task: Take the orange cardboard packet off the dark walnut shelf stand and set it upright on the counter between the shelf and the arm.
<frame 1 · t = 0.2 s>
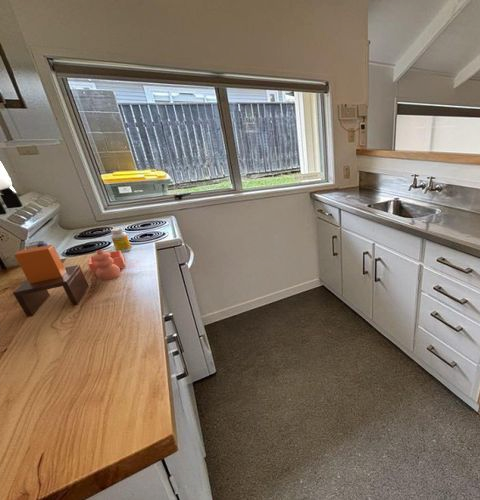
hand: (7, 211, 79), 27 cm above the counter, tool pointing down, fingers open, 9 cm apart
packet: (48, 277, 83), point 8 cm above the counter, touching shelf
shelf: (60, 300, 86), on the counter
supplement bottle: (124, 250, 123), on the counter
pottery: (109, 271, 104), on the counter
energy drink: (50, 273, 105), on the counter
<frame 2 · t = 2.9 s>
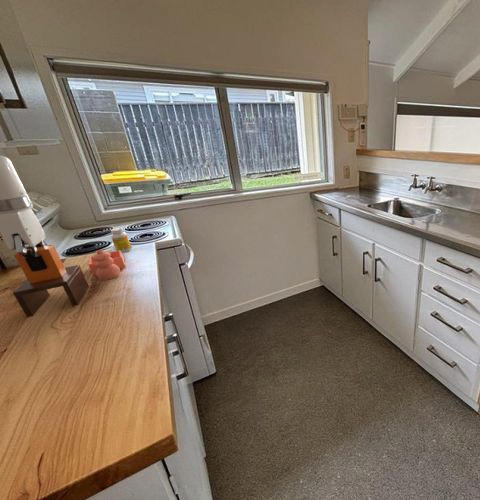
hand: (43, 266, 82), 12 cm above the counter, tool pointing down, fingers closed on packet, 4 cm apart
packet: (48, 277, 83), point 8 cm above the counter, touching gripper, shelf
everything else where it was.
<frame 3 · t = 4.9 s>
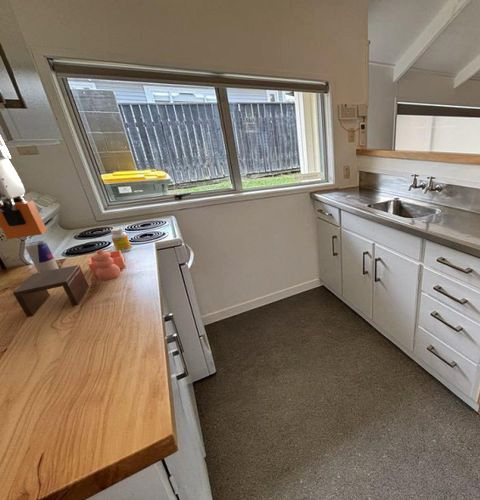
hand: (21, 222, 79), 24 cm above the counter, tool pointing down, fingers closed on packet, 4 cm apart
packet: (28, 234, 80), point 21 cm above the counter, touching gripper
everything else where it was.
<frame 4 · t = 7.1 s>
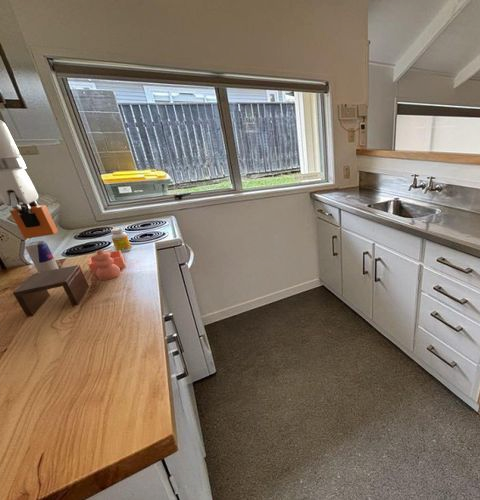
hand: (36, 223, 90), 21 cm above the counter, tool pointing down, fingers closed on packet, 4 cm apart
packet: (42, 234, 91), point 17 cm above the counter, touching gripper
everything else where it was.
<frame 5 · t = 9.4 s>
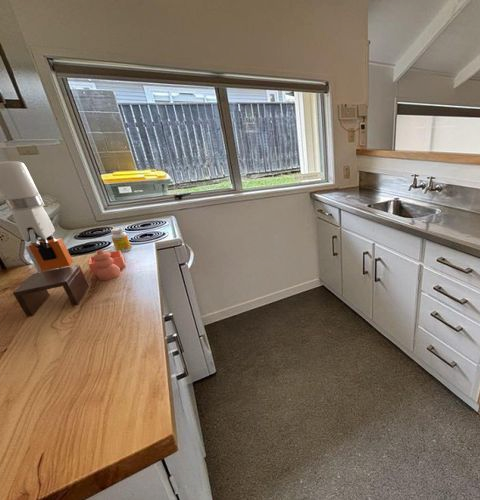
hand: (52, 256, 94), 10 cm above the counter, tool pointing down, fingers closed on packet, 4 cm apart
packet: (58, 266, 96), point 6 cm above the counter, touching gripper
everything else where it was.
when the fingers open (4 cm above the counter, at t = 11.2 s): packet stays where it is, on the counter.
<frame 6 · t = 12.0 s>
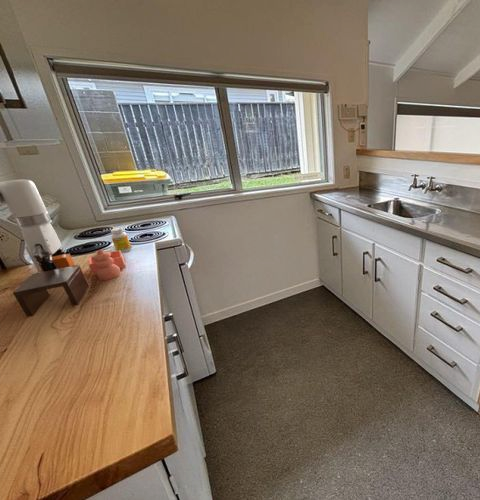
hand: (57, 268, 96), 5 cm above the counter, tool pointing down, fingers open, 9 cm apart
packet: (65, 281, 98), on the counter
everything else where it was.
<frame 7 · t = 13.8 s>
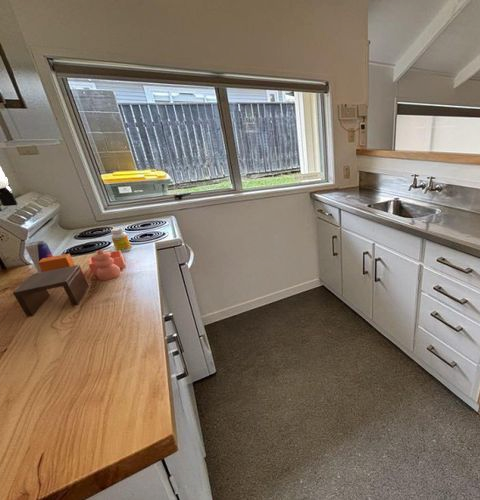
hand: (2, 208, 87), 27 cm above the counter, tool pointing down, fingers open, 9 cm apart
nothing on the counter moved.
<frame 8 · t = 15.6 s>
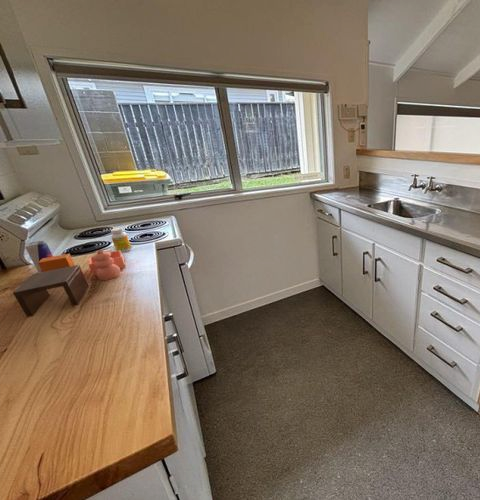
nothing on the counter moved.
at the end: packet inside the target area (0.2 cm from its centre), on the counter; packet tilted 0°; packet touching counter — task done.
